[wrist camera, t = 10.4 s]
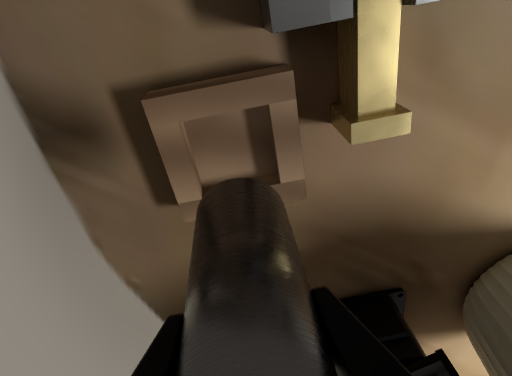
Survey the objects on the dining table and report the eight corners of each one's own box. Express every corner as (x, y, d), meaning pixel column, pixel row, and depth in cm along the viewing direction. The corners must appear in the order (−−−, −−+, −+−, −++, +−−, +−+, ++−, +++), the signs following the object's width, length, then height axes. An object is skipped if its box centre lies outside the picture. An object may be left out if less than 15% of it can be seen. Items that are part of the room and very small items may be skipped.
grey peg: (289, 241, 14) (426, 717, 5) (208, 257, 14) (182, 762, 5) (279, 169, 12) (473, 721, 3) (185, 187, 12) (62, 798, 3)
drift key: (380, 113, 20) (410, 133, 17) (331, 123, 20) (351, 145, 17) (386, -65, 15) (428, -83, 12) (322, -52, 15) (348, -67, 12)
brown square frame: (299, 183, 22) (306, 198, 20) (187, 205, 22) (184, 222, 20) (286, 63, 18) (293, 70, 16) (148, 91, 18) (140, 100, 16)
